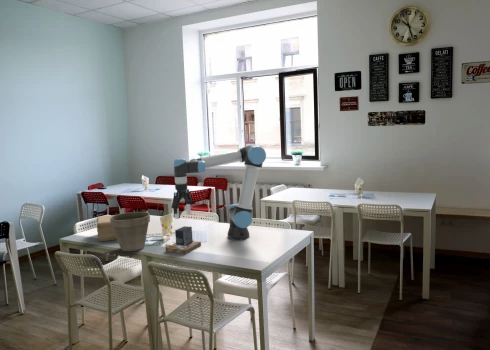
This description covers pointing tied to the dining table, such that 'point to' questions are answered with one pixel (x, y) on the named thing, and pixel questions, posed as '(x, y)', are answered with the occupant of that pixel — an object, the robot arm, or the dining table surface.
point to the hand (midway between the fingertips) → (183, 216)
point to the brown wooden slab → (182, 247)
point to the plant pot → (131, 229)
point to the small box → (184, 236)
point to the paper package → (105, 229)
